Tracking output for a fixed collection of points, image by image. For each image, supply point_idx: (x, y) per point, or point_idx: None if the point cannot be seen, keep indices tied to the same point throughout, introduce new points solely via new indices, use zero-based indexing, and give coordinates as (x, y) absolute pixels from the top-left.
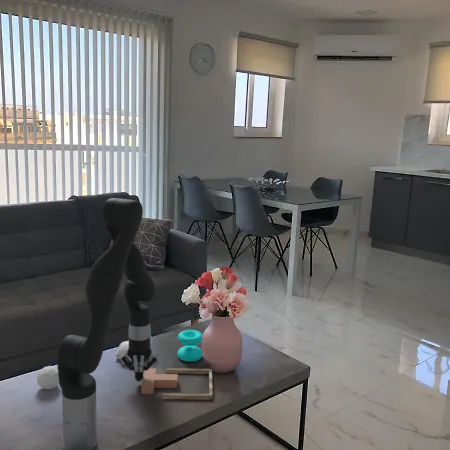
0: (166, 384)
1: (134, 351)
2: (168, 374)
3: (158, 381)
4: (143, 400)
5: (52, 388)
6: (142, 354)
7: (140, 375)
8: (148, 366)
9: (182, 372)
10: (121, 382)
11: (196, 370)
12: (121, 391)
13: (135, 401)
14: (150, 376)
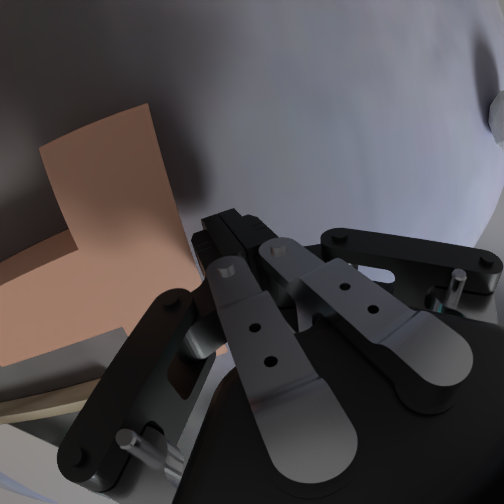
0: (12, 264)
1: (486, 420)
2: (39, 350)
3: (51, 255)
4: (102, 33)
5: (493, 101)
6: (333, 480)
7: (217, 239)
8: (149, 337)
9: (48, 396)
10: (322, 200)
11: (5, 414)
12: (296, 100)
13: (159, 5)
14: (137, 283)
